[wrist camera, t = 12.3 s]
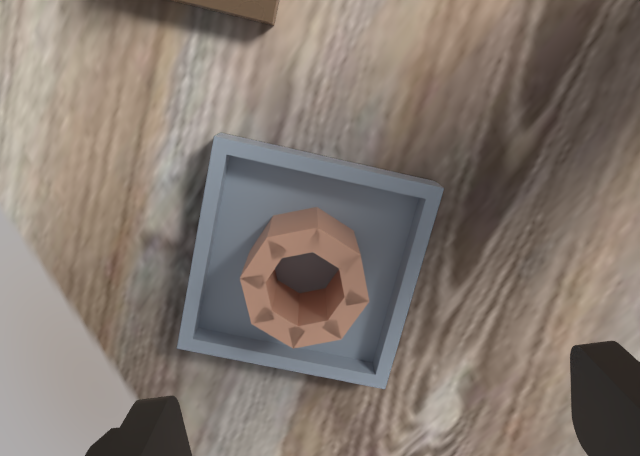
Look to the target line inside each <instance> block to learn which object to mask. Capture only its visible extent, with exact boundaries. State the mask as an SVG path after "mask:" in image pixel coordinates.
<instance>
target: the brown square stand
mask: <svg viewBox="0 0 640 456" xmlns="http://www.w3.org/2000/svg"><path fill="white" fill-rule="evenodd" d="M171 1H175V2H179V3H183V4H187V5H191V6H195V7H199V8H203V9H207V10H212V11H216V12H220V13H224V14H228V15H232V16H236V17H240V18H244V19H248V20H253V21H257V22H261V23H265V24H269V25H273V26H274V24H275V19H276V14H277V9H278V4H279V0H171Z"/></svg>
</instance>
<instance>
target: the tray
mask: <svg viewBox="0 0 640 456" xmlns="http://www.w3.org/2000/svg"><path fill="white" fill-rule="evenodd" d="M443 190H444V188H443V187H442V186H441V185H440V184H438V183H437V182H436V181H432V180H428V179H424V178H419V177H415V176H410V175H406V174H401V173H397V172H393V171H388V170H384V169H379V168H375V167H371V166H366V165H362V164H357V163H353V162H349V161H344V160H340V159H335V158H331V157H327V156H322V155H318V154H313V153H309V152H305V151H300V150H296V149H291V148H287V147H282V146H278V145H274V144H269V143H265V142H260V141H256V140H252V139H247V138H243V137H238V136H234V135H230V134H225V133H219V134H217V135H215V136H214V140H213V145H212V151H211V157H210V162H209V168H208V174H207V180H206V185H205V191H204V197H203V202H202V208H201V214H200V219H199V225H198V231H197V236H196V242H195V248H194V253H193V259H192V265H191V271H190V276H189V282H188V288H187V293H186V299H185V305H184V310H183V316H182V322H181V327H180V333H179V339H178V345H177V349H182V350H187V351H192V352H197V353H202V354H207V355H212V356H217V357H223V358H228V359H233V360H238V361H243V362H248V363H253V364H258V365H263V366H269V367H274V368H279V369H284V370H289V371H294V372H299V373H304V374H309V375H315V376H320V377H325V378H330V379H335V380H340V381H345V382H350V383H356V384H361V385H366V386H371V387H376V388H381V389H385V388H386V385H387V381H388V378H389V374H390V371H391V367H392V364H393V361H394V357H395V354H396V350H397V347H398V344H399V340H400V337H401V333H402V330H403V327H404V323H405V320H406V316H407V313H408V310H409V306H410V303H411V299H412V296H413V293H414V289H415V286H416V282H417V279H418V276H419V272H420V269H421V265H422V262H423V259H424V255H425V252H426V248H427V245H428V241H429V238H430V235H431V231H432V228H433V224H434V221H435V218H436V214H437V211H438V207H439V204H440V201H441V197H442V194H443ZM314 207H318V208H320V209H321V210H323V211H324V212H326V213H327V214H329V215H330V216H332V217H333V218H335V219H337V220H338V221H340V222H341V223H343V224H344V225H346V226H347V227H349V228H350V229H352V230H354V233H355V237H356V240H357V244H358V247H359V251H360V254H361V259H362V264H363V270H364V275H365V280H366V286H367V291H368V296H369V303H368V304H367V305H366V307H365V308H364V310H363V311H362V312H361V314H360V315H359V316H358V318H357V319H356V320H355V322H354V323H353V324H352V326H351V327H350V328H349V330H348V331H347V332H346V334H345V335H344V337H343V338H342V339H341V340H336V341H331V342H326V343H320V344H315V345H310V346H304V347H299V348H294V349H293V348H291V347H290V346H288V345H286V344H285V343H283V342H281V341H279V340H278V339H276V338H274V337H273V336H271V335H269V334H268V333H266V332H264V331H263V330H261V329H259V328H257V327H256V326H254V325H252V324H251V320H250V316H249V312H248V308H247V304H246V301H245V297H244V293H243V289H242V285H241V281H240V276H241V274H242V271H243V268H244V265H245V262H246V260H247V257H248V254H249V251H250V250H251V248H252V247H253V245H254V244H255V242H256V241H257V239H258V238H259V236H260V235H261V233H262V232H263V230H264V229H265V227H266V226H267V224H268V223H269V221H270V220H271V218H272V217H273V215H278V214H283V213H288V212H293V211H298V210H303V209H309V208H314ZM338 270H339V268H337V267H336V266H334V265H333V264H331V263H329V262H328V261H326V260H325V259H323V258H321V257H320V256H318V255H317V254H315V253H314V252H311V253H306V254H301V255H296V256H291V257H285V258H282V259H281V260H280V262H279V263H278V265H277V266H276V268H275V272H276V276H277V280H279V281H280V282H282V283H284V284H285V285H287V286H288V287H290V288H292V289H293V290H295V291H297V292H298V293H303V292H309V291H314V290H319V289H324V288H326V287H327V285H328V284H329V282H330V281H331V280H332V278H333V277H334V275H335V274H336V273H337V271H338Z"/></svg>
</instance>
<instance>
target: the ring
mask: <svg viewBox="0 0 640 456" xmlns="http://www.w3.org/2000/svg"><path fill="white" fill-rule="evenodd" d="M311 252H314V253H315V254H317V255H318V256H320V257H321V258H323V259H325V260H326V261H328V262H329V263H331V264H333V265H334V266H336V267H337V268H339V270H338V271H337V273H336V274H335V275H334V277H333V278H332V280H331V281H330V282H329V284H328V285H327V287H326V288H324V289H319V290H314V291H309V292H303V293H298V292H297V291H295V290H293V289H292V288H290V287H288V286H287V285H285V284H284V283H282V282H280V281H279V280H277V276H276V272H275V268H276V266H277V265H278V263H279V262H280V260H281V259H282V258H285V257H291V256H296V255H301V254H306V253H311ZM240 281H241V285H242V289H243V293H244V297H245V301H246V304H247V308H248V312H249V316H250V320H251V324H252V325H254V326H256V327H257V328H259V329H261V330H263V331H264V332H266V333H268V334H269V335H271V336H273V337H274V338H276V339H278V340H279V341H281V342H283V343H285V344H286V345H288V346H290V347H291V348H293V349H294V348H299V347H304V346H310V345H315V344H320V343H326V342H331V341H336V340H341V339H342V338H343V337H344V335H345V334H346V332H347V331H348V330H349V328H350V327H351V326H352V324H353V323H354V322H355V320H356V319H357V318H358V316H359V315H360V314H361V312H362V311H363V310H364V308H365V307H366V305H367V304H368V303H369V296H368V291H367V286H366V280H365V275H364V270H363V264H362V259H361V254H360V251H359V247H358V244H357V240H356V237H355V233H354V230H352V229H350V228H349V227H347V226H346V225H344V224H343V223H341V222H340V221H338V220H337V219H335V218H333V217H332V216H330V215H329V214H327V213H326V212H324V211H323V210H321V209H320V208H318V207H314V208H309V209H303V210H298V211H293V212H288V213H283V214H278V215H273V217H272V218H271V220H270V221H269V223H268V224H267V226H266V227H265V229H264V230H263V232H262V233H261V235H260V236H259V238H258V239H257V241H256V242H255V244H254V245H253V247H252V248H251V250H250V251H249V254H248V257H247V260H246V262H245V265H244V268H243V271H242V274H241V276H240Z"/></svg>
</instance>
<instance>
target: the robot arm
mask: <svg viewBox="0 0 640 456" xmlns="http://www.w3.org/2000/svg"><path fill="white" fill-rule="evenodd" d="M570 370H571V408H572V420H573V425H574V429H575V432H576V435H577V438H578V440H579V442H580V444H581V446H582V448H583V449H584V451H585V452H586V453H587V455H588V456H640V362H639V361H638V360H636V359H635V358H634V357H633V356H632V355H631V354H630V353H629V352H627V351H626V350H625V349H624V348H623V347H622V346H621V345H620V344H618V343H617V342H615V341H606V342H598V343H590V344H582V345H575V346H573V347H572V349H571V354H570ZM85 456H192V454H191V450H190V446H189V442H188V437H187V433H186V429H185V425H184V421H183V417H182V413H181V409H180V405H179V402H178V400H177V398H176V397H175V396H166V397H158V398H150V399H142V400H137V401H136V402H135V403H134V404H133V406H132V408H131V409H130V411H129V413H128V414H127V416H126V418H125V419H124V421H123V423H122V425H121V426H120V428H112V429H110V430H109V431H108V432H107V433H106V434H105V435H104V436H102V437H101V438H100V439H99V440H98V441H97V442H95V443H94V444H93V445H92V446H91V447H90V448H89V450H88V451H87V453H86V455H85Z"/></svg>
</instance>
